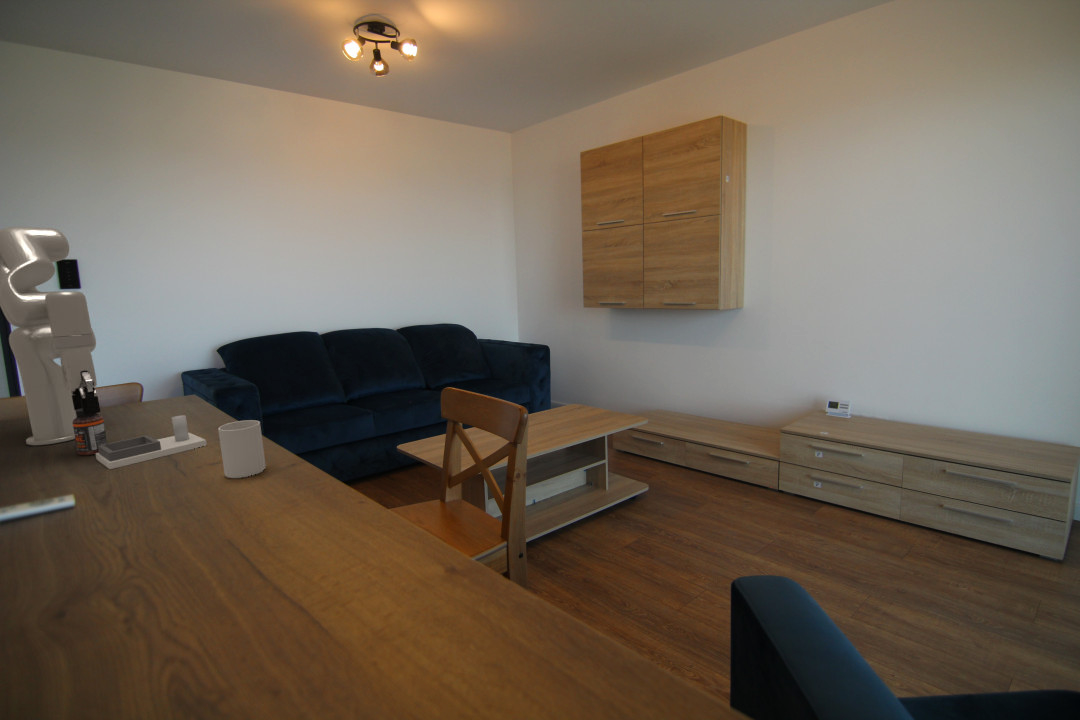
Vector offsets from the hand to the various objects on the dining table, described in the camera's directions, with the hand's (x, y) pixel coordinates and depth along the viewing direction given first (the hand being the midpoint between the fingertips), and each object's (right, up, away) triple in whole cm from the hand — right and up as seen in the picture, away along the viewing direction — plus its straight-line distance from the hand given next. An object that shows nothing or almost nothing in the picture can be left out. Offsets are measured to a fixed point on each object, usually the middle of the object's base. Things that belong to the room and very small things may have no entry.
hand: (87, 411), depth 135 cm
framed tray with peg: (+16, -10, 0) cm, 19 cm away
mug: (+46, -12, -15) cm, 50 cm away
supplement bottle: (0, -11, +2) cm, 11 cm away
